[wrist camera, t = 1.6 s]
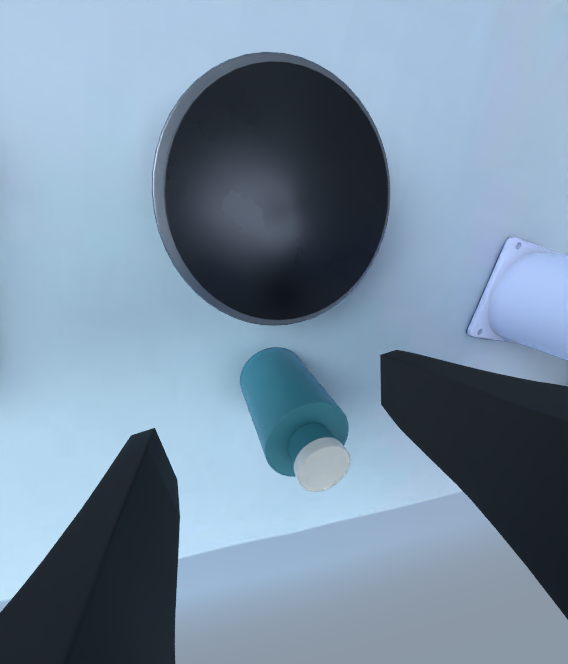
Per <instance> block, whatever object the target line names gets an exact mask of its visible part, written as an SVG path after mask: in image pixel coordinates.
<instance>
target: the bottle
mask: <svg viewBox="0 0 568 664" xmlns="http://www.w3.org/2000/svg"><path fill="white" fill-rule="evenodd" d="M240 385H241V389H242V392H243V395H244V397H245V400H246V403H247V406H248V409H249V412H250V414H251V417H252V420H253V423H254V426H255V429H256V431H257V434H258V437H259V440H260V443H261V445H262V448H263V451H264V454H265V457H266V460H267V462H268V464H269V465H270V466H271V468H272V469H274V470H275V471H276V472H278V473H280V474H282V475H286V476H293V477H295V476H296V477H297V480H298V482H299V484H300V485H301V487H303V488H304V489H305V490H308V491H311V492H318V491H323V490H326V489H328V488H330V487H332V486H334V485H335V484H337V483H338V482H339V481H340V480H341V479H342V478H343V477H344V476H345V474H346V473H347V471H348V469H349V466H350V455H349V453H348V451H347V450H346V448H345V447H344V444H345V442H346V440H347V436H348V421H347V418H346V416H345V414H344V413H343V411H342V410H341V409H340V408H339V406H338V405H337V404H336V403H335V402H334V400H333V399H332V398H331V397H330V396H329V395H328V393H327V392H326V391H325V390H324V389H323V387H322V386H321V385H320V384H319V383H318V381H317V380H316V379H315V378H314V377H313V375H312V374H311V373H310V372H309V371H308V369H307V368H306V367H305V366H304V365H303V363H302V362H301V361H300V360H299V359H298V357H297V356H296V355H295V354H294V353H292V352H291V351H289V350H287V349H284V348H269V349H265V350H262V351H260V352H258V353H257V354H255V355H254V356H252V357H251V358H250V359H249V360H248V362H247V363H246V364H245V366H244V368H243V370H242V373H241V377H240Z"/></svg>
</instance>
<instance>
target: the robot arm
mask: <svg viewBox="0 0 568 664" xmlns="http://www.w3.org/2000/svg"><path fill="white" fill-rule="evenodd" d="M467 333H468V335H470V336H473V337H479V338H486V339H493V340H500V341H506V342H513V343H520V344H524V345H526V346H529V347H532V348H535V349H537V350H540V351H543V352H545V353H548V354H551V355H554V356H556V357H559V358H562V359H564V360H567V361H568V255H563V254H560V253H557V252H554V251H552V250H549V249H546V248H543V247H541V246H538V245H535V244H532V243H530V242H527V241H524V240H522V239H519V238H512V237H511V238H509V239H508V240H507V241H506V243H505V245H504V247H503V250H502V252H501V254H500V256H499V259H498V261H497V263H496V266H495V268H494V270H493V272H492V275H491V277H490V279H489V282H488V284H487V286H486V289H485V291H484V293H483V295H482V298H481V300H480V302H479V305H478V307H477V309H476V312H475V314H474V316H473V318H472V321H471V323H470V325H469V328H468V330H467ZM381 405H382V406H383V408H384V409H385V410H386V412H387V413H388V414H389V416H390V417H391V418H392V419H393V421H394V422H395V423H396V424H397V426H398V427H399V428H400V429H401V430H402V431H403V432H404V433H405V434H406V435H407V436H408V437H409V438H410V439H411V440H412V441H413V442H414V443H415V444H416V445H417V446H418V447H419V448H420V449H421V450H422V451H423V452H424V453H425V454H426V455H427V456H428V457H429V458H430V459H431V460H432V461H433V462H434V463H435V464H436V465H437V466H438V467H439V468H440V469H441V470H442V471H443V472H444V473H445V474H446V475H447V476H448V477H449V478H451V479H452V480H453V481H454V482H455V483H456V484H457V485H458V486H459V488H460V489H461V490H462V491H463V492H464V493H465V494H466V495H467V496H468V497H469V498H470V499H471V500H472V501H473V502H474V504H475V505H476V506H477V507H478V508H479V510H480V511H481V512H482V513H483V514H484V515H485V517H486V518H487V519H488V520H489V521H490V522H491V524H492V525H493V526H494V527H495V528H496V529H497V531H498V532H499V533H500V534H501V535H502V537H503V538H504V539H505V540H506V542H507V543H508V544H509V545H510V546H511V547H512V549H513V550H514V551H515V553H516V554H517V555H518V556H519V557H520V559H521V560H522V561H523V562H524V564H525V565H526V566H527V567H528V568H529V570H530V571H531V572H532V574H533V575H534V576H535V578H536V579H537V580H538V582H539V583H540V584H541V585H542V587H543V588H544V589H545V591H546V592H547V593H548V594H549V596H550V597H551V598H552V600H553V601H554V602H555V604H556V605H557V606H558V607H559V608H560V610H561V611H562V613H563V614H564V615H565V617H566V618H567V619H568V386H562V385H556V384H550V383H543V382H537V381H531V380H526V379H521V378H516V377H511V376H506V375H501V374H497V373H492V372H488V371H483V370H479V369H475V368H471V367H467V366H462V365H458V364H454V363H451V362H447V361H443V360H439V359H435V358H431V357H427V356H423V355H419V354H415V353H410V352H405V351H399V350H395V351H391V352H388V353H385V354H382V355H381ZM179 524H180V512H179V496H178V484H177V478H176V476H175V474H174V471H173V469H172V467H171V464H170V462H169V460H168V457H167V455H166V453H165V450H164V448H163V446H162V443H161V441H160V439H159V437H158V434H157V432H156V430H155V428H153V429H150V430H147V431H144V432H140V433H137V434H134V435H131V437H130V438H129V440H128V441H127V442H126V444H125V445H124V447H123V448H122V450H121V451H120V453H119V454H118V456H117V457H116V459H115V460H114V462H113V463H112V465H111V466H110V468H109V469H108V471H107V472H106V474H105V475H104V477H103V478H102V480H101V481H100V483H99V484H98V486H97V487H96V489H95V490H94V491H93V493H92V494H91V496H90V497H89V499H88V500H87V502H86V503H85V505H84V506H83V507H82V509H81V510H80V512H79V513H78V514H77V516H76V517H75V518H74V520H73V521H72V522H71V524H70V525H69V526H68V528H67V529H66V530H65V532H64V533H63V534H62V536H61V537H60V538H59V540H58V541H57V542H56V544H55V545H54V546H53V548H52V549H51V550H50V552H49V553H48V554H47V556H46V557H45V559H44V560H43V561H42V562H41V564H40V565H39V566H38V567H37V569H36V570H35V571H34V573H33V574H32V575H31V576H30V577H29V579H28V580H27V581H26V582H25V584H24V585H23V586H22V587H21V589H20V590H19V591H18V592H17V593H16V595H15V596H14V597H13V598H12V599H11V601H10V602H9V603H8V604H7V605H6V607H5V608H4V609H3V610H2V611H1V613H0V664H175V607H176V587H177V567H178V548H179Z"/></svg>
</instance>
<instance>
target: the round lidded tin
mask: <svg viewBox="0 0 568 664" xmlns="http://www.w3.org/2000/svg"><path fill="white" fill-rule="evenodd" d="M152 196H153V206H154V214H155V218H156V222H157V226H158V230H159V233H160V236H161V239H162V241H163V244H164V247H165V249H166V251H167V253H168V255H169V257H170V259H171V261H172V263H173V264H174V266H175V268H176V269H177V270H178V272H179V273H180V275H181V276H182V278H183V279H184V280H185V281H186V283H187V284H188V285H189V286H190V287H191V288H192V289H193V290H194V291H195V292H196V293H197V294H198V295H199V296H200V297H201V298H203V299H204V300H205V301H206V302H207V303H209V304H210V305H212V306H213V307H215V308H216V309H218V310H219V311H221V312H223V313H225V314H227V315H229V316H231V317H234V318H236V319H239V320H243V321H246V322H249V323H255V324H260V325H288V324H293V323H298V322H302V321H305V320H308V319H311V318H314V317H316V316H318V315H320V314H322V313H324V312H326V311H328V310H329V309H331V308H332V307H334V306H335V305H337V304H338V303H339V302H340V301H342V300H343V299H344V298H345V297H347V296H348V295H349V294H350V292H351V291H352V290H353V289H354V288H355V287H356V286H357V285H358V284H359V282H360V281H361V280H362V279H363V277H364V276H365V274H366V273H367V271H368V270H369V268H370V266H371V265H372V263H373V261H374V259H375V257H376V255H377V253H378V250H379V248H380V245H381V242H382V240H383V237H384V233H385V229H386V225H387V220H388V213H389V204H390V179H389V171H388V164H387V159H386V155H385V151H384V147H383V144H382V141H381V138H380V136H379V133H378V131H377V128H376V126H375V124H374V122H373V120H372V118H371V117H370V115H369V113H368V111H367V110H366V108H365V107H364V105H363V104H362V103H361V101H360V100H359V98H358V97H357V96H356V95H355V94H354V93H353V92H352V90H351V89H350V88H349V87H348V86H347V85H346V84H345V83H344V82H342V81H341V80H340V79H339V78H338V77H336V76H335V75H334V74H333V73H331V72H330V71H328V70H326V69H325V68H323V67H322V66H320V65H318V64H316V63H314V62H311V61H309V60H307V59H304V58H302V57H298V56H294V55H290V54H285V53H274V52H260V53H252V54H245V55H242V56H239V57H236V58H233V59H229V60H227V61H225V62H223V63H221V64H219V65H217V66H216V67H214V68H212V69H210V70H209V71H208V72H206V73H205V74H204V75H202V76H201V77H200V78H199V79H197V80H196V81H195V82H194V83H193V84H192V85H191V86H190V87H189V88H188V89H187V91H186V92H185V93H184V94H183V95H182V96H181V98H180V99H179V101H178V102H177V104H176V105H175V107H174V108H173V110H172V111H171V113H170V115H169V117H168V119H167V121H166V123H165V125H164V128H163V130H162V132H161V135H160V139H159V142H158V145H157V149H156V152H155V159H154V165H153V172H152Z"/></svg>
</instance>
